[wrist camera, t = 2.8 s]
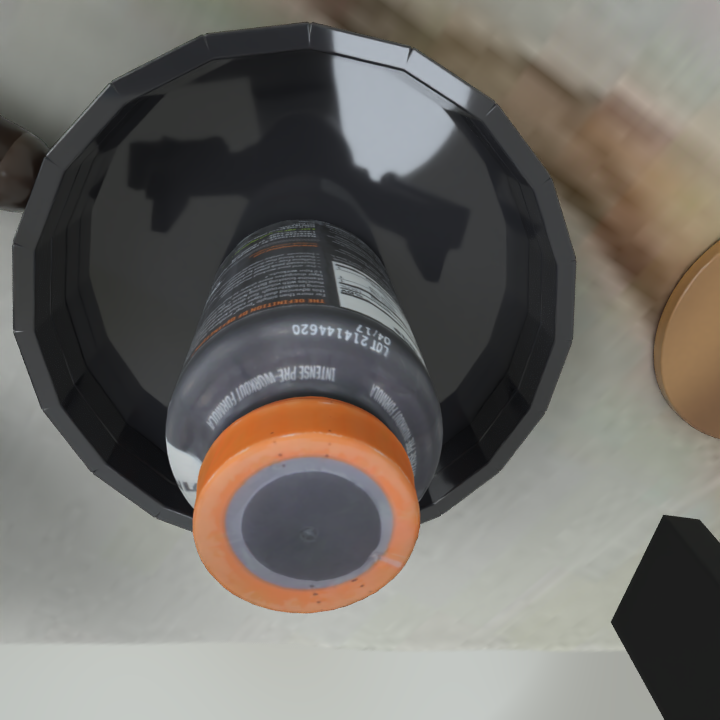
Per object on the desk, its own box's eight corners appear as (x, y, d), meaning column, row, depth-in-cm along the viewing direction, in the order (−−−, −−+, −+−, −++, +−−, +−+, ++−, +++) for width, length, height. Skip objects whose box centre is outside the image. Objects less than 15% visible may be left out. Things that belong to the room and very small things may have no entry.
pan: (47, 468, 24) (14, 522, 21) (54, -35, 17) (7, -52, 14) (467, 520, 26) (485, 573, 23) (612, 99, 20) (662, 106, 17)
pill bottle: (214, 383, 22) (139, 663, 12) (209, 210, 20) (107, 377, 9) (386, 387, 23) (454, 655, 13) (401, 220, 20) (503, 386, 10)
